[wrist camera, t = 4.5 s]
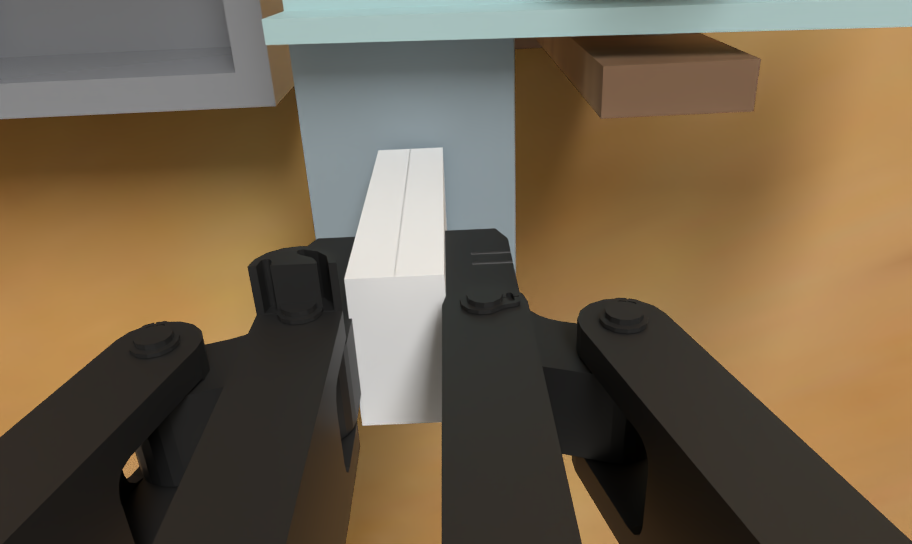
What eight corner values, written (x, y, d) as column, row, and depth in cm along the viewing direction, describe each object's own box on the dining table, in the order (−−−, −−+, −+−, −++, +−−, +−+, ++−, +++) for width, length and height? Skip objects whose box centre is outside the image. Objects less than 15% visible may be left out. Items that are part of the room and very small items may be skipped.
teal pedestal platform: (1120, 341, 18) (1192, 394, 16) (337, 327, 20) (315, 372, 18) (1479, -493, 11) (1681, -581, 9) (244, -373, 13) (193, -423, 11)
